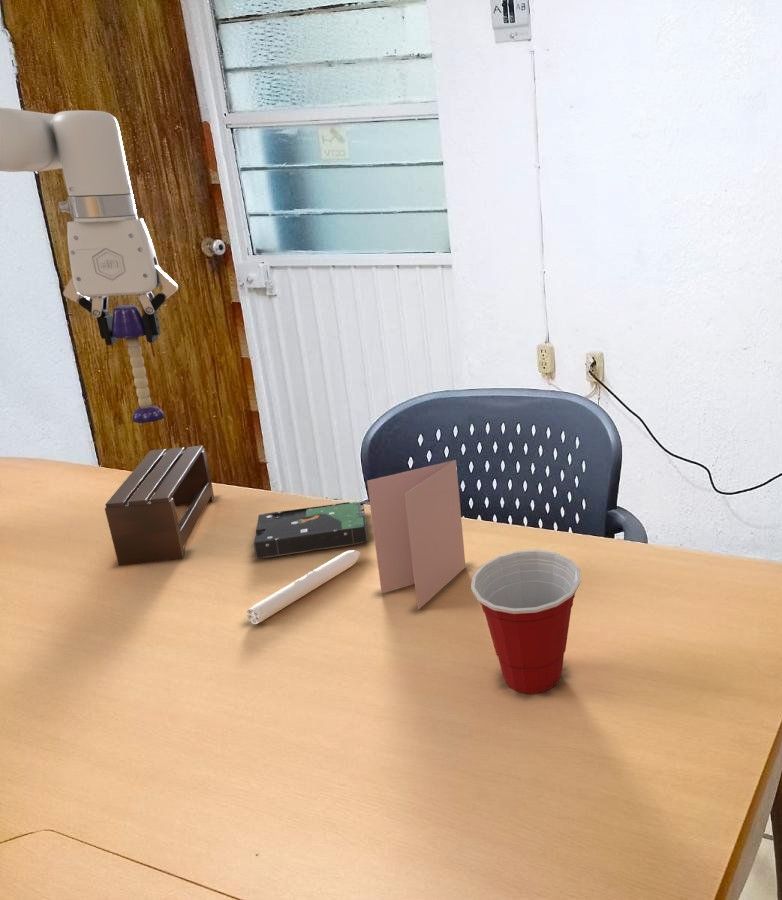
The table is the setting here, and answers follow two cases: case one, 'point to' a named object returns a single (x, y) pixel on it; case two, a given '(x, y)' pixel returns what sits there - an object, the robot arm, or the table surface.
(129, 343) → the toy lamp
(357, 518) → the disk drive
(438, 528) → the greeting card
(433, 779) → the table surface
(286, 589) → the marker
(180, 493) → the bench
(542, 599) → the plastic cup
